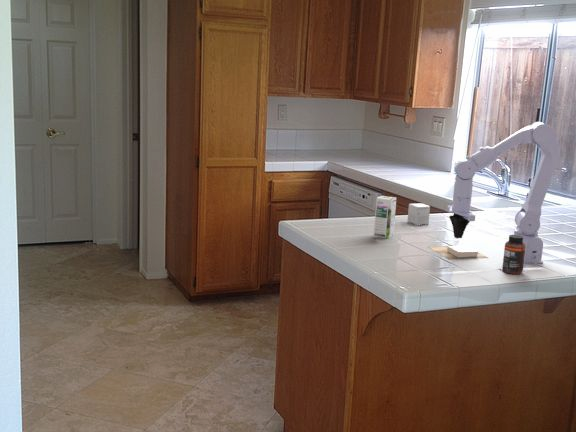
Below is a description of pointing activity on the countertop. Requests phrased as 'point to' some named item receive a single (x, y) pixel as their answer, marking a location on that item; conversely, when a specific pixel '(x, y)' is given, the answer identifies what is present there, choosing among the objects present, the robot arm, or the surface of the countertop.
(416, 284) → the countertop surface
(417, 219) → the white stone block
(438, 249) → the cork mat
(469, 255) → the tile
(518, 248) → the supplement bottle
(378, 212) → the syrup box
